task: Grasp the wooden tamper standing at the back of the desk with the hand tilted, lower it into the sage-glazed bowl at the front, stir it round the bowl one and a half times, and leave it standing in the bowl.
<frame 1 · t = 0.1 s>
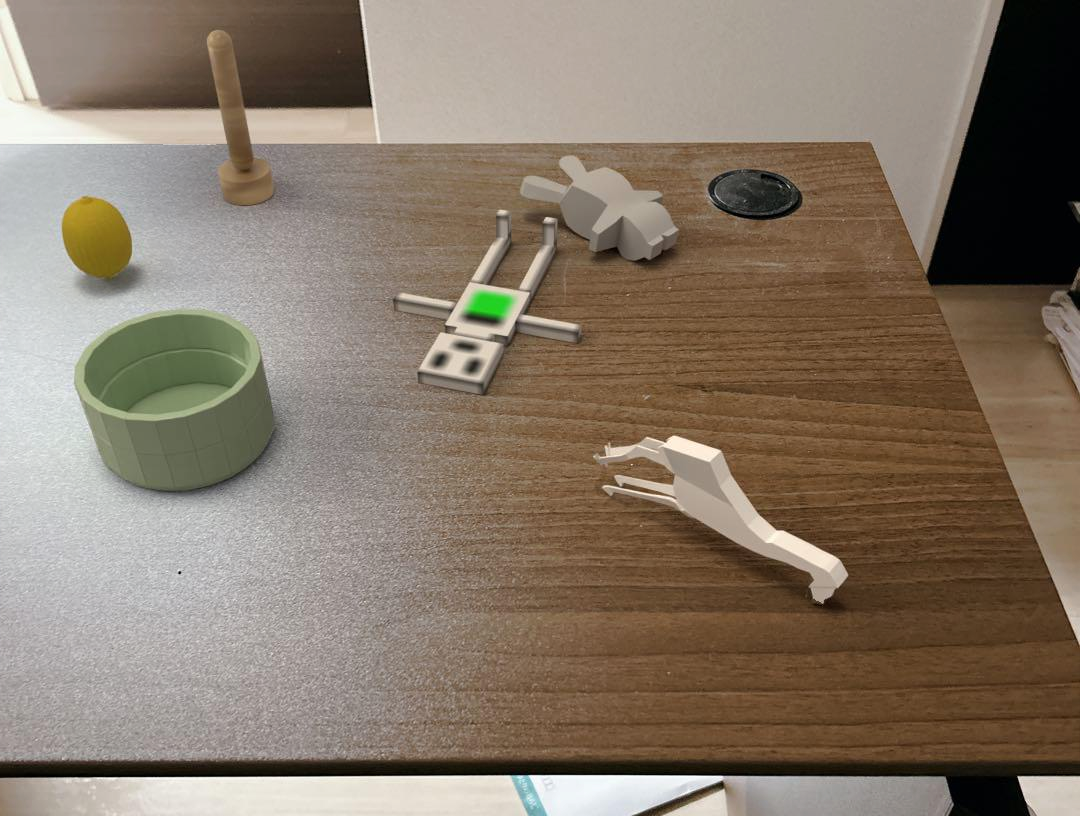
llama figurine: (709, 542, 79), on the table
bowl: (189, 434, 86), on the table
bunny figurine: (601, 232, 107), on the table
wooden tamper: (248, 192, 111), on the table
robot figure: (492, 313, 98), on the table
lemon: (110, 280, 101), on the table
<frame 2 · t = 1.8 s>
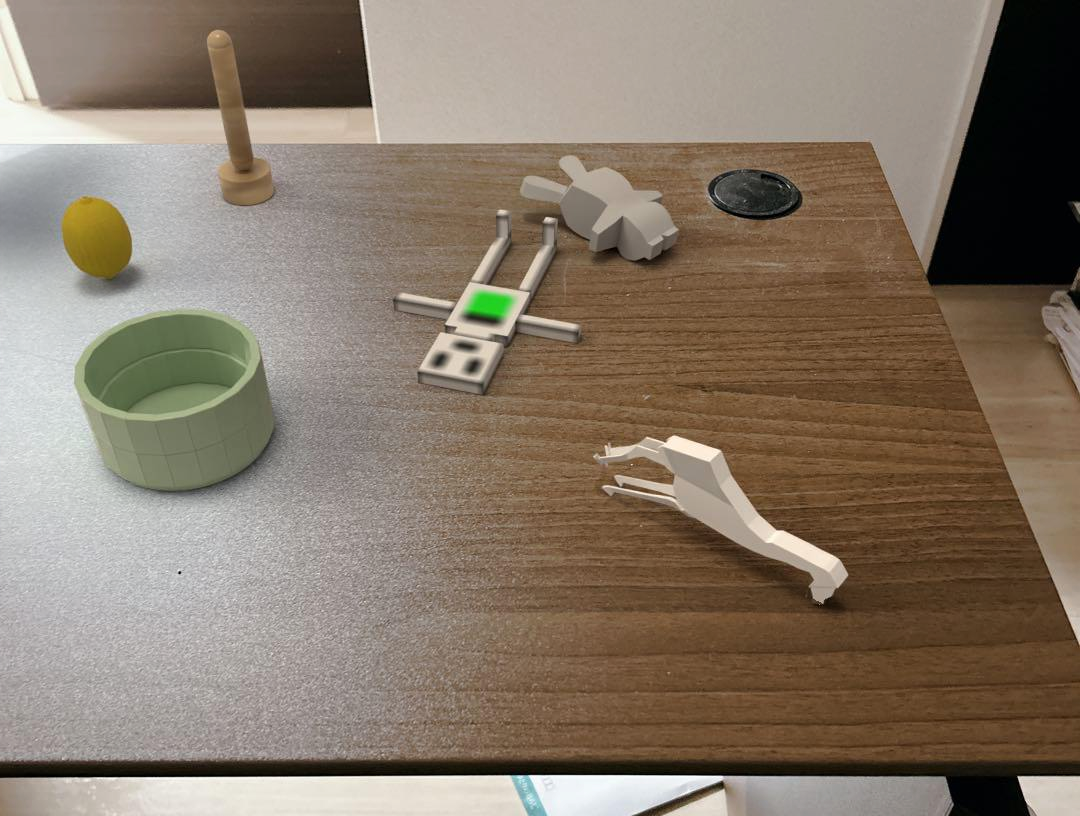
nothing on the table moved.
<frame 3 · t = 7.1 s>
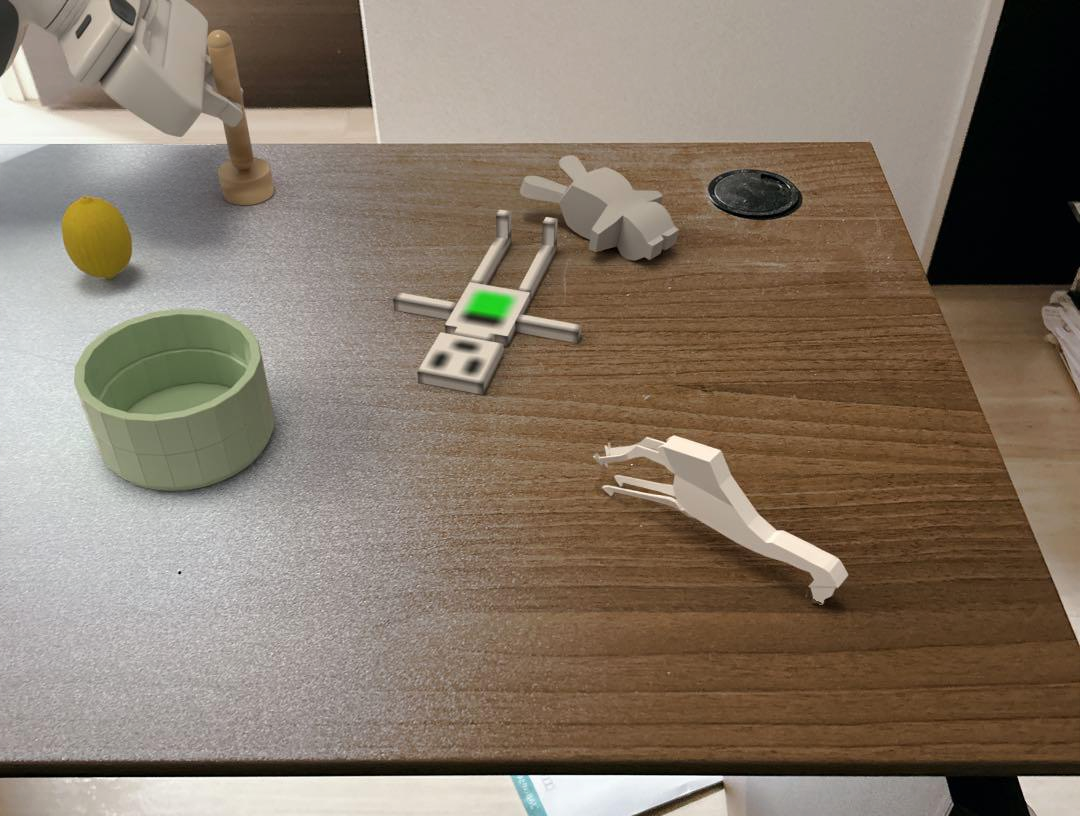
hand: (239, 109, 105), 8 cm above the table, tool tilted 45°, fingers closed on wooden tamper, 2 cm apart
wooden tamper: (248, 192, 111), on the table, touching gripper
everything else where it was.
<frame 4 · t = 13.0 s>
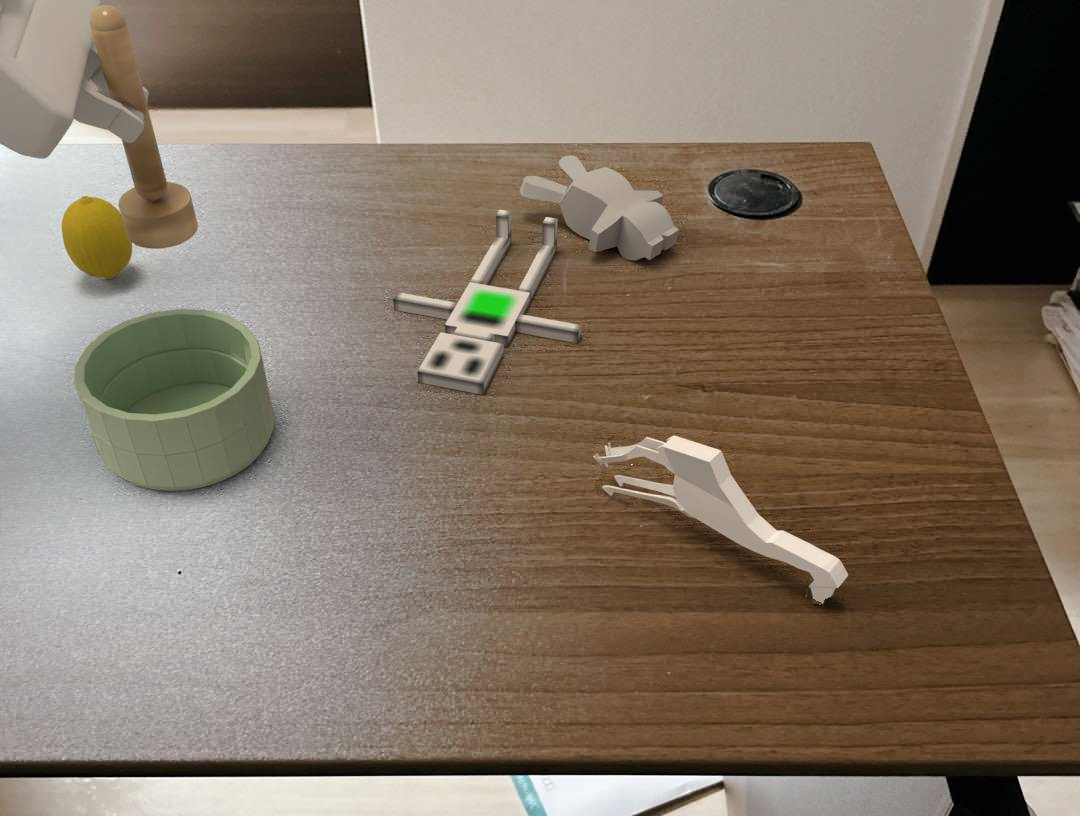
hand: (141, 119, 76), 22 cm above the table, tool tilted 45°, fingers closed on wooden tamper, 2 cm apart
wooden tamper: (162, 230, 82), point 13 cm above the table, touching gripper
everything else where it was.
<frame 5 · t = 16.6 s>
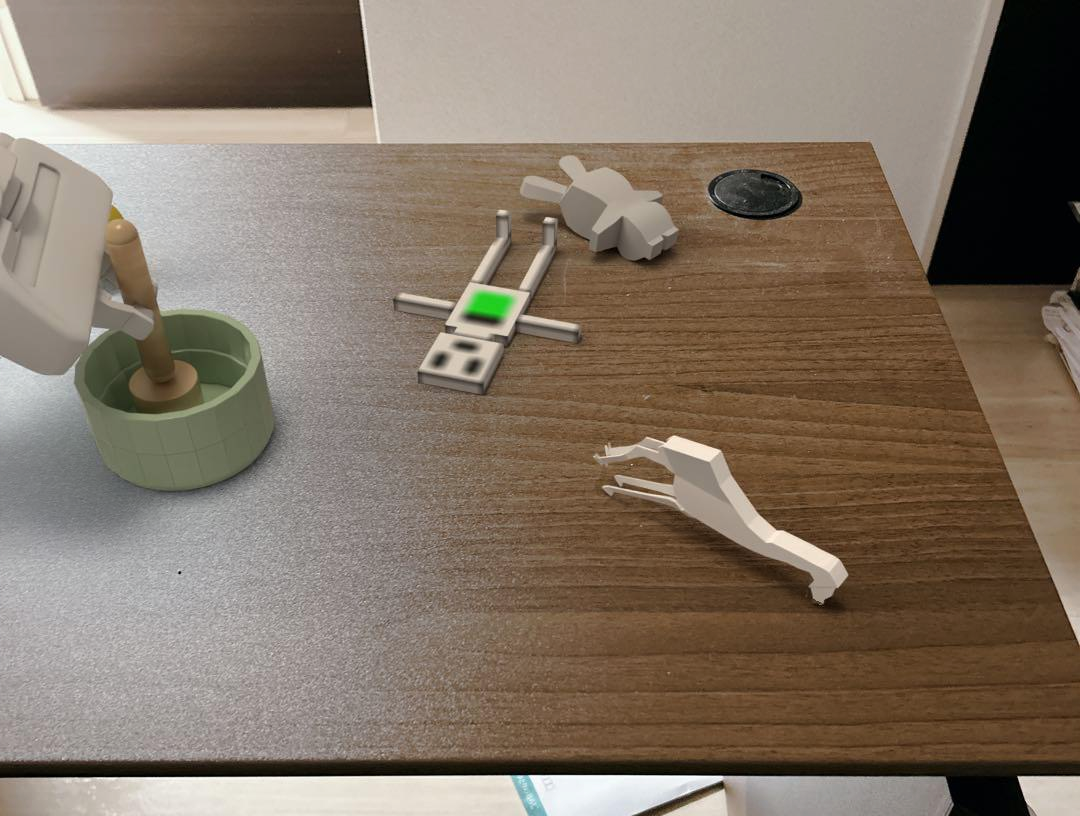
hand: (151, 313, 80), 10 cm above the table, tool tilted 45°, fingers closed on wooden tamper, 2 cm apart
wooden tamper: (170, 405, 86), point 2 cm above the table, touching gripper
everything else where it was.
when the fingers open (9 cm above the table, at t = 19.1 s): wooden tamper stays where it is, resting on bowl.
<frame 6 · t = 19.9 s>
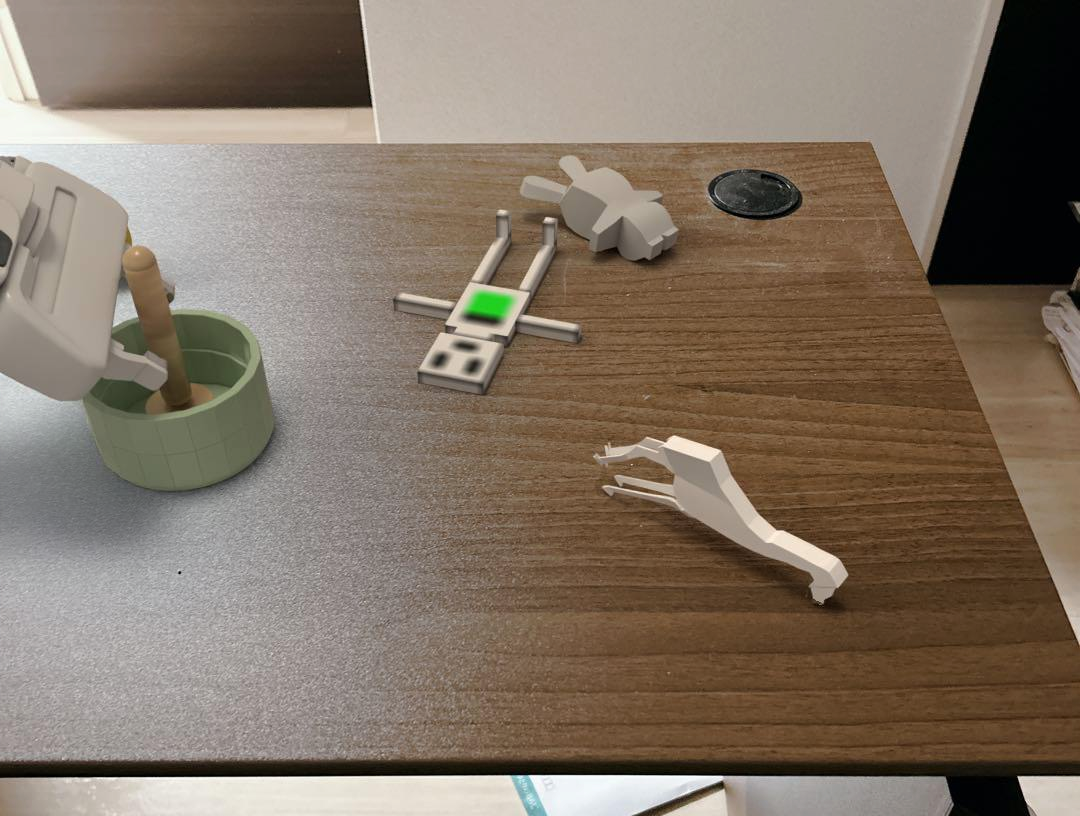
hand: (167, 336, 80), 9 cm above the table, tool tilted 45°, fingers open, 8 cm apart
wooden tamper: (186, 428, 86), point 1 cm above the table, touching bowl
everything else where it was.
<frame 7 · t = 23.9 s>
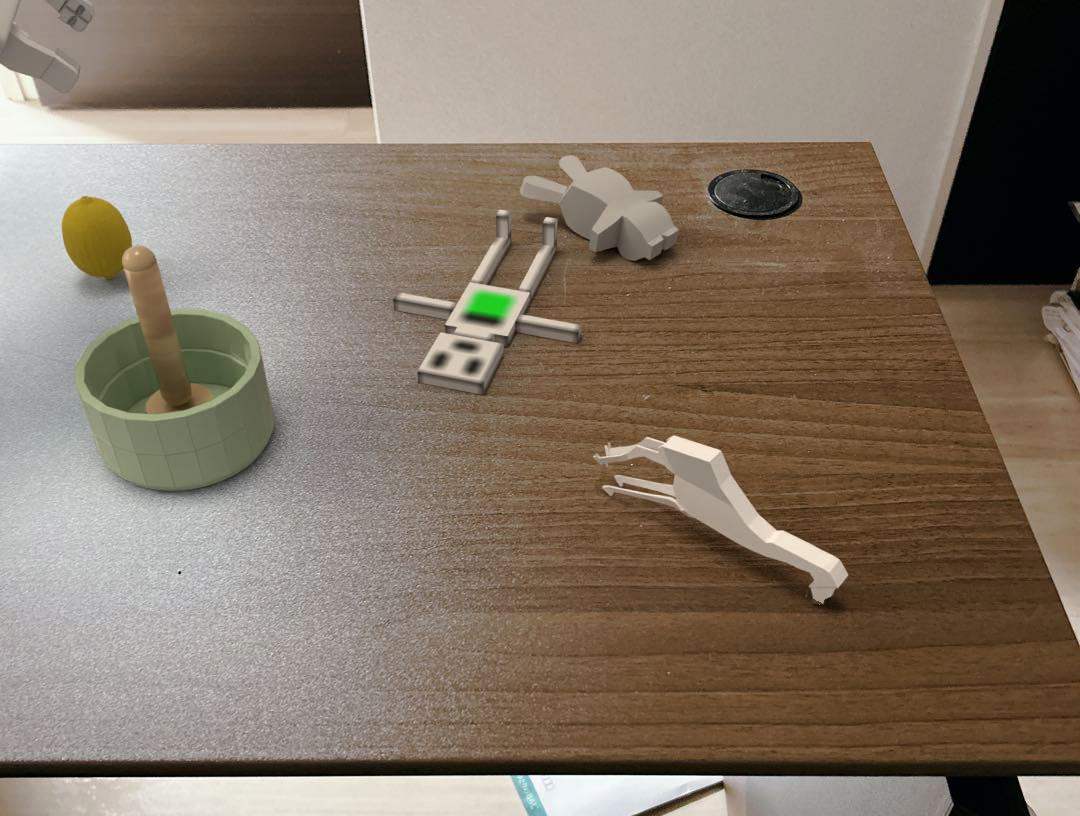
hand: (82, 49, 75), 25 cm above the table, tool tilted 45°, fingers open, 8 cm apart
nothing on the table moved.
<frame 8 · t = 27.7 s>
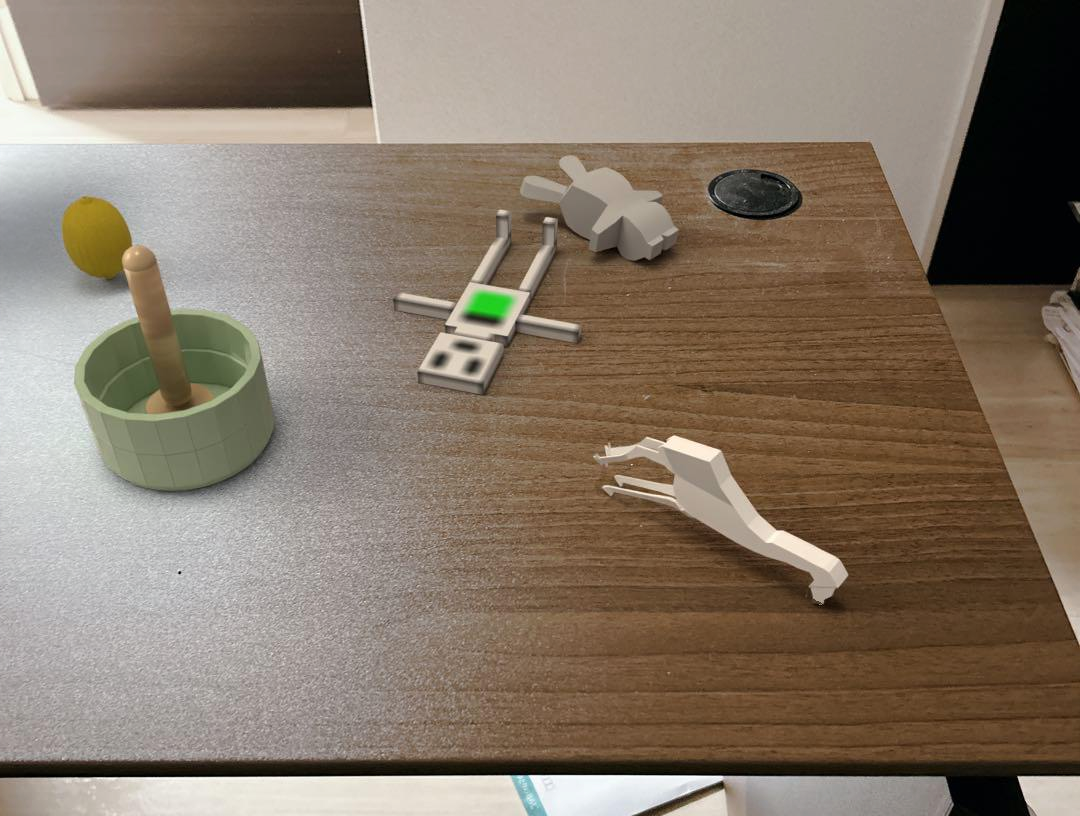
nothing on the table moved.
at the end: wooden tamper inside the target area in the bowl (0.1 cm from its centre), point 0.6 cm above the bowl's base; the gripper is holding nothing; wooden tamper moved 36.2 cm from its start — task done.
